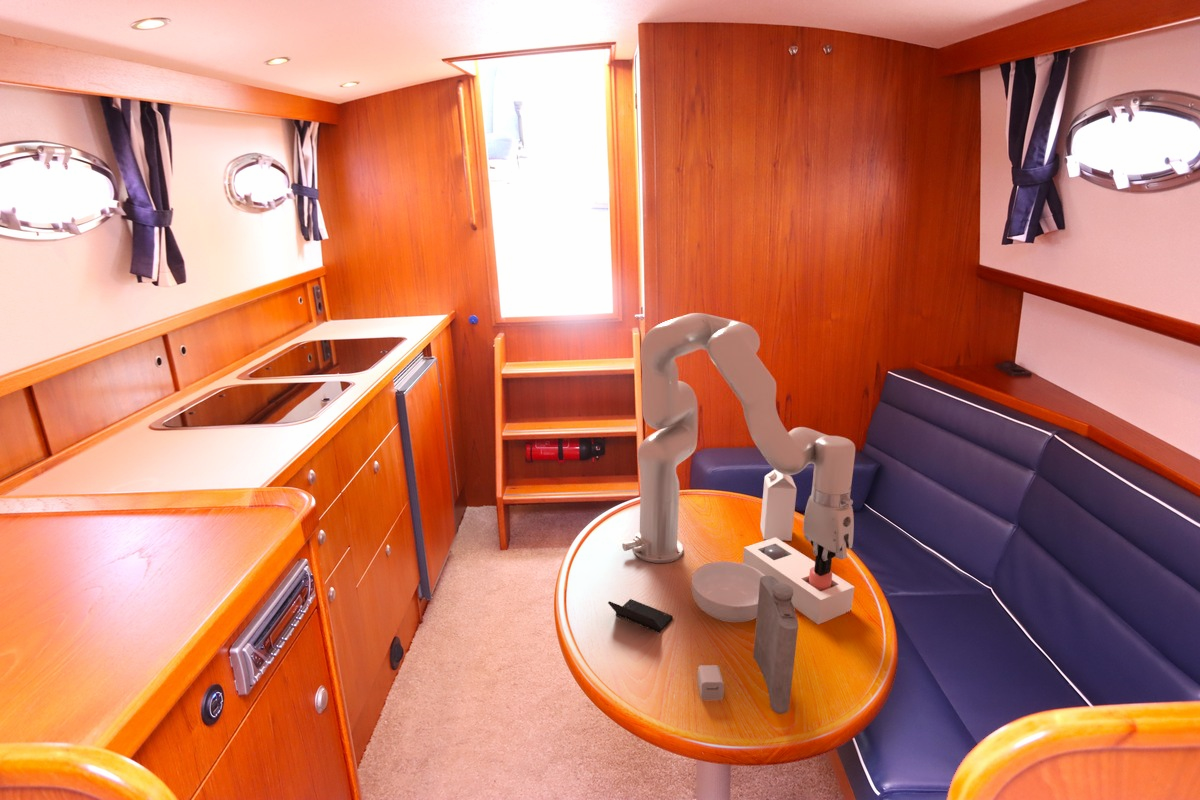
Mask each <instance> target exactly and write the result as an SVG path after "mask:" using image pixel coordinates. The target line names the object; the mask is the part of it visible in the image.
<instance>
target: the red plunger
mask: <svg viewBox="0 0 1200 800" xmlns="http://www.w3.org/2000/svg"><path fill="white" fill-rule="evenodd" d="M814 568H815V567H812V568H811V569H810V574H809V583H808V584H810V585H811V586H813V587H814V588H816V589H817V590H819V591H820V592H821V591H824V590H826V589H829V588H831V580H832V573H833V572H832V571H831V570H830V573H827V574H825V575H822V576H819V575H818V573H817V574H816V573H815V572H814Z"/></svg>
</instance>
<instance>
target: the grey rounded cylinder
mask: <svg viewBox="0 0 1200 800" xmlns="http://www.w3.org/2000/svg"><path fill="white" fill-rule="evenodd" d="M764 554H765V555H767V556H768V557H770V558H771V559H773V560H777V559H780V558H783V557H784V556H785V550H784V549H783V548H781V547H779V546H775V545H770V546H767V547H765V551H764Z"/></svg>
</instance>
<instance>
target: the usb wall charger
mask: <svg viewBox="0 0 1200 800" xmlns="http://www.w3.org/2000/svg"><path fill="white" fill-rule="evenodd" d="M696 679H697V680H696V681H697V685H698V690H699V695H700V699H701V701H722V700H723V698H724V691H725V682H724V681H723V676H722V672H721V668H720V666H719V665H716V664H713V663H712V662H711V665H710V664H709V665H707V664H703V665H702V663H700V665H699V666H698V667H697V678H696Z"/></svg>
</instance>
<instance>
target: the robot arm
mask: <svg viewBox="0 0 1200 800" xmlns="http://www.w3.org/2000/svg"><path fill="white" fill-rule="evenodd" d="M760 339H761V338H760V336H759V334H758V332H757V331H756V329H755V328H754V327H752V326H751V325H750V324H747V323H745V322H742V321H738V320H734V319H729V318H725V317H720V316H716V315H713V314H712V315H711V314H707V313H701V312H693V313H688V314H685V315H682V316H678V317H675V318H672V319H669V320H666V321H664V322H662V323H659V324H658V325H656V326H654V327H652V328H651V329H650V330H648V332H647V333H646V334H645V335H644V337H643V339H642V340H641V344H640V362H641V372H642V373H641V400H642V401H641V403H642V405H641V409H642V416H643V420H644V422H645V424H646V425H647V426H648V427H650V428H651V429H654V430H656V431H654V432H653V433H651V434H650V435H648V436H647V437H646V438H644V440H643V441H642V442H641V443H640V445H639V446H638V449H637V456H636V457H637V464H638V470H639V477H640V480H639V481H640V489H639V490H640V492H639V493H640V494H639V495H640V497H639V499H640V501H639V532H638V533H636V534H635V538H632V540H631V541H628V542H627V541H626V542H624V543H622V546H621V547H622V549H623V551H624V552H625V551H626V552H627V551H630V550H632V553H633V554H634V555H636V557H638V558H639V559H640V560H643V561H646V562H649V563H655V564H664V563H665V564H666V563H671V562H674V561H676V560H678V559H680V558H681V556H682V555H683V553H684V546H683V544H682V542H681V541H680V540H679V539H678V534H679V533H678V531H679V510H680V509H679V506H680V481H679V478H678V474H677V466H678V465H680V464H681V463H682V462H684V461H686V459H688V458H689V457H691V456H692V455H693V454H694V453H695V450H696V448H697V443H698V427H699V425H698V418H699V417H698V410H699V409H698V400H697V398H698V397H697V396H696V392H695V391H694V390H693V388H692V387H691V386H690V385H689V384H688V383H686V382H685V381H682V380H679V376H680V374H679V368H678V364H677V362H676V359H677V358H679V357H682V356H686V355H688V354H691V353H695V352H696V351H698V350H704V351H706V353H707V354H708V357H709V359H710V361H711V362H712V363H713V365H714V367H715V368H716V369H717V370H718V372H719V373H720V375H721V376H722V377H723V379H724V380H725V382H726V383H727V384H728V386H729V388H730V389H731V390H732V392H733V393H734V395H735V396H736V398H737V399H738V401H739V402H740V403H741V406H742V408H743V415H744V419H745V421H746V426H747V429H748V431H749V435H750V436H751V439H752V441H753V443H754V444H755V446H756V447H757V449H758V450H759V451H760V453H761V455H762V457H764V459H765V460H766V462H767V463H768V464H769V465H770V466H771V467H772V468H773V470H774V469H775V470H776V471H778V472H780V473H782V474H785V475H790V476H794V475H797V474H799V473H801V472H802V471H803V470H804V469H805V468H806V467H807V466H808V465H810V464H811V465H812V464H813V477H812V485H811V494H810V495H809V497H808V500H807V503H806V507H805V512H804V517H803V523H802V524H803V525H802V532H803V536H804V538H805V540H806V541H808V542H809V543H810V545H811V546H812V547H811V548H812V552H813V555H814V556H815V559H814V562H815V568H814V572H815V573H816V574H817V573H818V575H819V576H822V575H825V574H827V573H830V571H831V570H832V563H833V562H832V560H833V559H834V558H836V559H838V560H844V559H847V557H848V554H847V553H848V552H847V551H848V550H850V549H852V548H853V542H854V529H855V527H854V526H855V525H854V523H855V522H854V509H853V506H852V505H853V503H854V501H853V499H851V491H852V481H853V474H854V465H855V457H856V445H855V443H854V442H853V440H851V439H848V438H847V437H843V436H839V435H828V434H825V433H822V432H820V431H817V430H815V429H812V428H809V427H805V426H799V427H794V428H792V429H791V430H790V431H787V429H786V428H785V426H784V424H783V423H782V421H781V419H780V417H779V414H778V410H777V404H776V399H777V381H776V379H775V378H774V376H772V373H770V371H769V370H768V369H767V367H766V365H765V364H764V363H763V362H762V360H761V358H759V356H758V355H757V353H758V351H759V349H760V345H761V340H760Z"/></svg>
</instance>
